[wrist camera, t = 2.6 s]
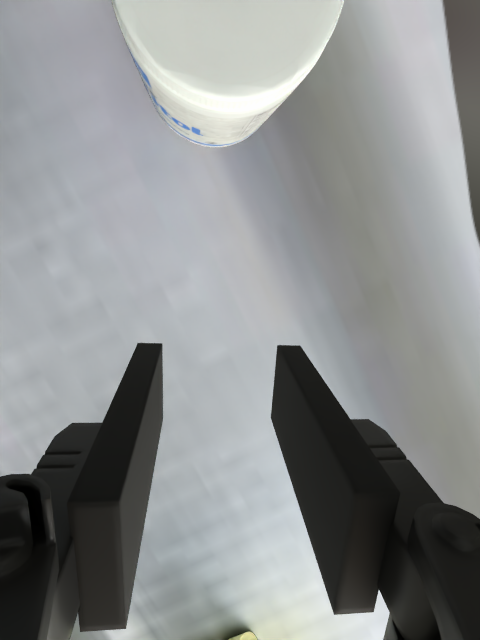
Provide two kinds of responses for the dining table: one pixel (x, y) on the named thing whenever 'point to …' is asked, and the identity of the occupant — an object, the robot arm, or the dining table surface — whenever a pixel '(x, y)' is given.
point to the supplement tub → (223, 59)
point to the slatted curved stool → (245, 636)
